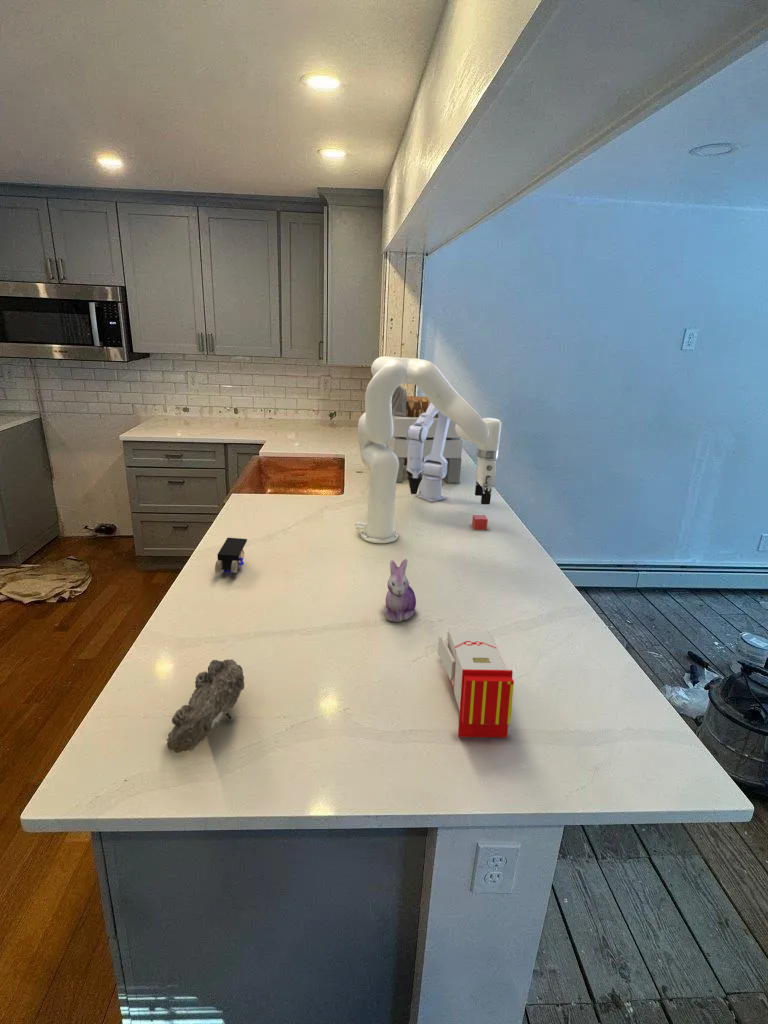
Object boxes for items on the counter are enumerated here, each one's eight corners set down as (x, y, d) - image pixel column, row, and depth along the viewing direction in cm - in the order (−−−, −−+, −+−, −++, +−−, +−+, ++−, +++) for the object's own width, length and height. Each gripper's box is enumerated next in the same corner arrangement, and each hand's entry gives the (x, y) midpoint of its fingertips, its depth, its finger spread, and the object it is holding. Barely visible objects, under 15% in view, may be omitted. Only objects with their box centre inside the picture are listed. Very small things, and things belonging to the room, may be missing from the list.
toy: (488, 613, 130) (523, 677, 101) (484, 667, 133) (517, 744, 104) (435, 612, 130) (455, 676, 101) (432, 666, 133) (451, 743, 103)
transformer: (382, 463, 289) (386, 382, 275) (445, 464, 293) (451, 384, 279) (390, 482, 257) (394, 392, 243) (460, 483, 261) (468, 394, 247)
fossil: (192, 660, 117) (244, 628, 112) (224, 691, 120) (276, 661, 115) (142, 746, 98) (202, 712, 93) (182, 779, 101) (242, 748, 96)
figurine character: (238, 584, 162) (249, 557, 175) (236, 562, 158) (247, 536, 172) (215, 584, 161) (227, 556, 175) (212, 561, 158) (225, 535, 171)
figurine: (392, 627, 141) (395, 572, 136) (374, 608, 149) (376, 556, 144) (425, 619, 145) (429, 566, 140) (405, 601, 154) (408, 550, 149)
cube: (486, 530, 207) (487, 519, 206) (474, 529, 207) (475, 519, 205) (483, 525, 211) (485, 515, 210) (471, 525, 211) (472, 514, 210)
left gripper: (504, 460, 192) (498, 507, 198) (491, 448, 208) (486, 492, 214) (482, 459, 191) (477, 507, 197) (471, 447, 207) (467, 492, 213)
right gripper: (427, 462, 209) (424, 497, 214) (424, 452, 223) (421, 485, 228) (408, 461, 209) (406, 496, 214) (406, 452, 223) (404, 485, 227)
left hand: (482, 499), depth 205 cm, fingers open, 9 cm apart
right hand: (413, 490), depth 221 cm, fingers open, 7 cm apart
